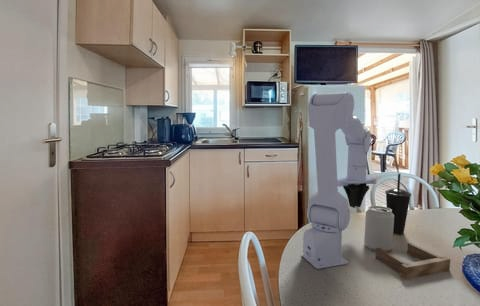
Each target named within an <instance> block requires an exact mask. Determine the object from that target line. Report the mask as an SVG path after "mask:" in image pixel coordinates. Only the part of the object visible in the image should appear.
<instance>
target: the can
mask: <svg viewBox="0 0 480 306" xmlns="http://www.w3.org/2000/svg"><path fill="white" fill-rule="evenodd" d="M364 223H365V224H364V238H363V239H364V240H363V241H364V245H365V246H366V247H367V248H368V249H369V250H370V251H371V250H372V251H374V252H376V248H381V249H382V250H384V251H386V252H389V251H390V250H392V249H393V242H394V241H393V239H394V234H393V227H394V214H393V213H392V210H391V209H390V208H387V206H383V205H370V206H368V209H367V210H366V211H365V220H364Z"/></svg>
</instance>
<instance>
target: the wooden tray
mask: <svg viewBox="0 0 480 306" xmlns="http://www.w3.org/2000/svg"><path fill="white" fill-rule="evenodd" d="M406 254H408V255H409V256H410V257H413V258H416V260H417V259H418V261H413V262H409V263H408V262H406V261H404V260H403V259H401V258H399V257H397V256H395V255H393V254H391V253H389V251H387V252H386V251H384V250H382V249H381V248H376V251H375V258H374V259H375V260H377V261H378V262H380V263H382V264H383V265H385V266H387V268H390V269H392V270H393V271H395V272H396V273H398V274H400V276H399V277H400V278H401V279H404V280H406V281H407V280H410V279H417V278H420V277H425V276H430V275H435V274H441V273H444V272H445V273H446V272H449V271H450V269H451V258H449V257H447V256H440V255H439V254H436V253H434V252H431V251H429V250H427V249H425V248H423V247H420V246H418V245H416V244H414V243H412V242H408V243H407V247H406Z"/></svg>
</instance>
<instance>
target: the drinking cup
mask: <svg viewBox="0 0 480 306" xmlns="http://www.w3.org/2000/svg"><path fill="white" fill-rule="evenodd" d="M400 186H401V173H397V187H396V188H390V189H388V190H387V189H386V190H385V200H386V203H385V204H386V207H387V208H390V209H391V210H392V213H393V214H394V227H393V235H399V236H400V235H403V234H404V232H405V228H406V222H407V216H408V212H409V205H410V200H411V196H412V193H411V192H409V191H407V190H405V189H402V188H400Z"/></svg>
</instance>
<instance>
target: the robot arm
mask: <svg viewBox="0 0 480 306" xmlns="http://www.w3.org/2000/svg"><path fill="white" fill-rule="evenodd" d="M354 109H355V99H354V95H353V94H352V92H351V91H345V92H333V93H332V92H330V93H313V94H312V95H311V96H310V98H309V101H308V103H307V116H308V125H309V127H310V128H311V129H313V134H314V135H313V136H314V138H313V139H314V150H315V165H316V179H317V180H316V182H317V183H316V184H317V191H316V192H315V193H313V194H312V195H311V196H309V199H308V201H307V210H306V217H307V220H308V222H309V223H311V225H310V226H311V228H308V229H306V230H305V231H304V232H303V240H302V241H303V244H302V253H301V257H303V258H304V259H305V260H306V261H308V262H309V263H310V264H311V265H312V266H313V267H314V268H315V269H318V270H319V269H324V268H326V269H327V268H330V267H337V266H341V265H343V266H344V265H348V264H349V261H348V260H346V259H345V258H343V257H342V241H343V240H342V237H343V235H342V234H343V231H344V230H346V229H347V228H348V226H349V224H350V219H351V212H350V208H349V207H351V208H353V209H355V208H361V207H362V204H363V200H364V198H365V197H366V194H367V193H368V191H369V190H370V185H377V180H378V179H377V177H373V176H369V177H367V167H368V166H367V165H368V164H367V163H368V152H369V150H370V144H371V139H372V137H371V136H372V134H371V131H370V130H371V129H368V128H365V127H364V125H363V124H362V122H361V120H360V119H359V117H357V116H354V114H353V113H354ZM338 130H341V132H342V133H343V134H344V139H345V144H346V146H347V147H348V148H347V166H346V167H347V168H346V170H347V171H346V172H347V173H346V177H345V178H339V179H338V171H337V170H338V169H337V168H338V167H337V166H338V165H337V144H336V142H337V141H336V132H337V131H338ZM338 187H340V188H343V190H344V191H345V194H346V196H347V198H346V197H345V196H344V195H343V194H342V193H340V191H339V190H338V189H339V188H338Z"/></svg>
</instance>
